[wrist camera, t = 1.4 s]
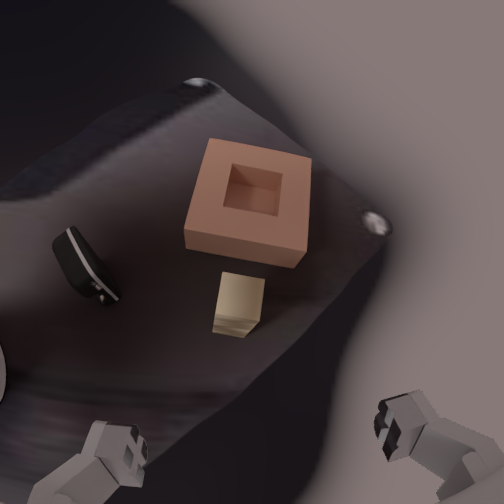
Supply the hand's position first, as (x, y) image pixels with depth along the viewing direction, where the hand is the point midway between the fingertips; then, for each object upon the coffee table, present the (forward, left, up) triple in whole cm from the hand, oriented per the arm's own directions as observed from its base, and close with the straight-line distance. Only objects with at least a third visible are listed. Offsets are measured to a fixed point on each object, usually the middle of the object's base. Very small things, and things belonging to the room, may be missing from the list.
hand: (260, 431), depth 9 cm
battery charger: (-18, +10, -29) cm, 36 cm away
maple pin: (0, +9, -29) cm, 31 cm away
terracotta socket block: (0, +25, -29) cm, 39 cm away
